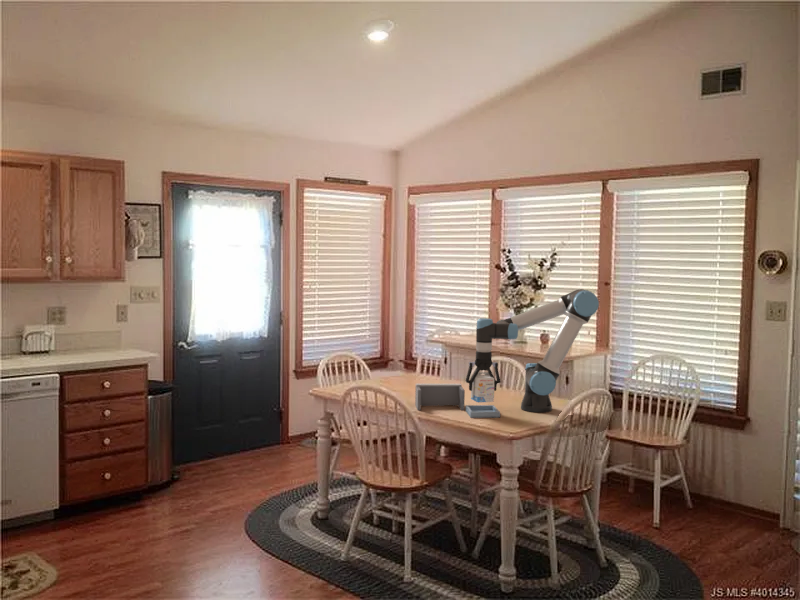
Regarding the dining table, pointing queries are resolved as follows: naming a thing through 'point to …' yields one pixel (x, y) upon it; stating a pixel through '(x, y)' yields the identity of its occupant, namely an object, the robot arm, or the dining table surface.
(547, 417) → the dining table surface
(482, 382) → the ink box
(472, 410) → the tray
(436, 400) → the bay
